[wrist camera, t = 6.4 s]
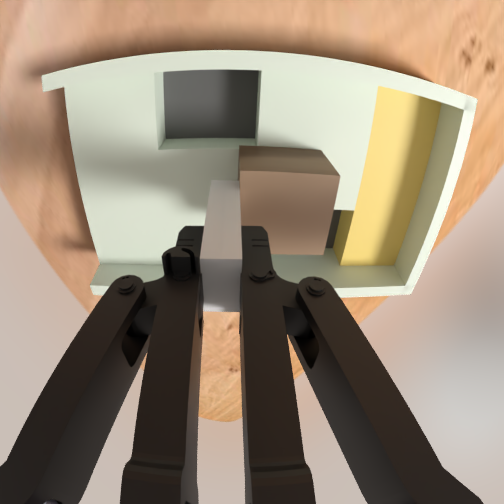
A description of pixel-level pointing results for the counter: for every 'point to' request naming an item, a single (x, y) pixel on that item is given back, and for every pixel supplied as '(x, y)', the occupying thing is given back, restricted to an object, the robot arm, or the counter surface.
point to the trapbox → (263, 134)
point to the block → (288, 196)
